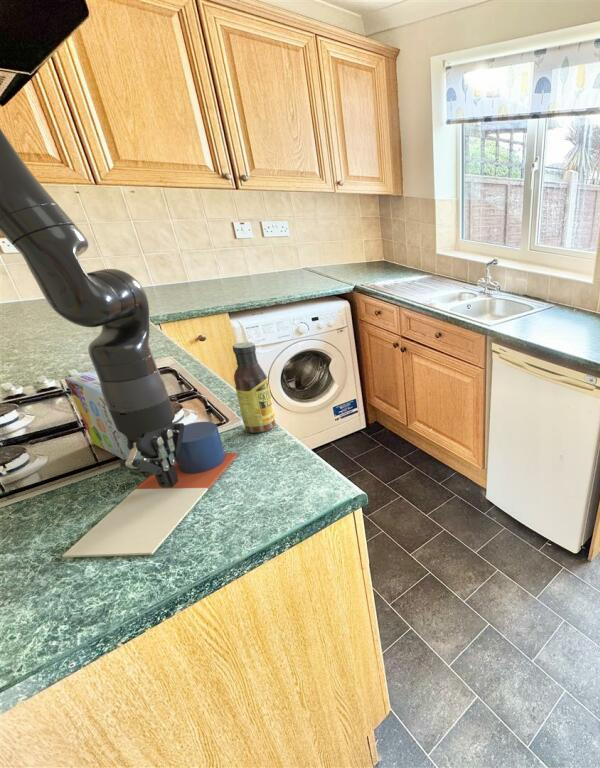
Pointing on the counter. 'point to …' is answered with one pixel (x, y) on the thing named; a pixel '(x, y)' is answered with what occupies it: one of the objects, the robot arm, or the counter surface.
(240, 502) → the counter surface
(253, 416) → the sauce bottle
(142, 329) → the robot arm
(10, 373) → the counter surface
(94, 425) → the snack box
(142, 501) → the mat
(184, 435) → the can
